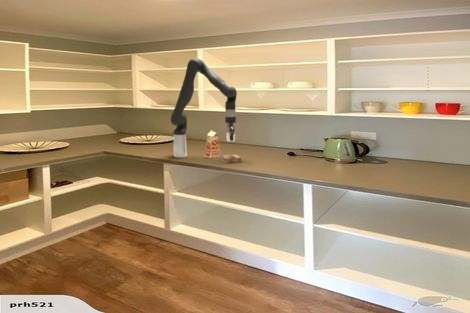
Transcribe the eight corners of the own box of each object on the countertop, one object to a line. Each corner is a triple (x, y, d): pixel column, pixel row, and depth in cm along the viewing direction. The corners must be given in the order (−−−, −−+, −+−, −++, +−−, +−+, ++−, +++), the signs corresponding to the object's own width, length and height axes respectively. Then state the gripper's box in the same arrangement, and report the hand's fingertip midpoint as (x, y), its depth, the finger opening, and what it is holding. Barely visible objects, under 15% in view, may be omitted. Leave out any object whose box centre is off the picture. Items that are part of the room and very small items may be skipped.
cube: (228, 141, 267) (228, 132, 266) (226, 140, 272) (226, 132, 271) (235, 141, 268) (234, 132, 267) (233, 140, 273) (233, 131, 272)
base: (224, 162, 266) (224, 158, 265) (221, 159, 277) (221, 155, 277) (241, 161, 268) (241, 157, 268) (237, 158, 280) (237, 154, 279)
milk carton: (204, 156, 290) (203, 130, 286) (214, 155, 295) (214, 129, 291) (211, 158, 282) (210, 131, 279) (221, 156, 288) (220, 130, 284)
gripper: (223, 115, 273) (223, 138, 276) (227, 116, 259) (227, 141, 262) (233, 114, 274) (233, 138, 277) (238, 116, 260) (238, 141, 264)
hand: (230, 139), depth 270 cm, fingers closed on cube, 5 cm apart
